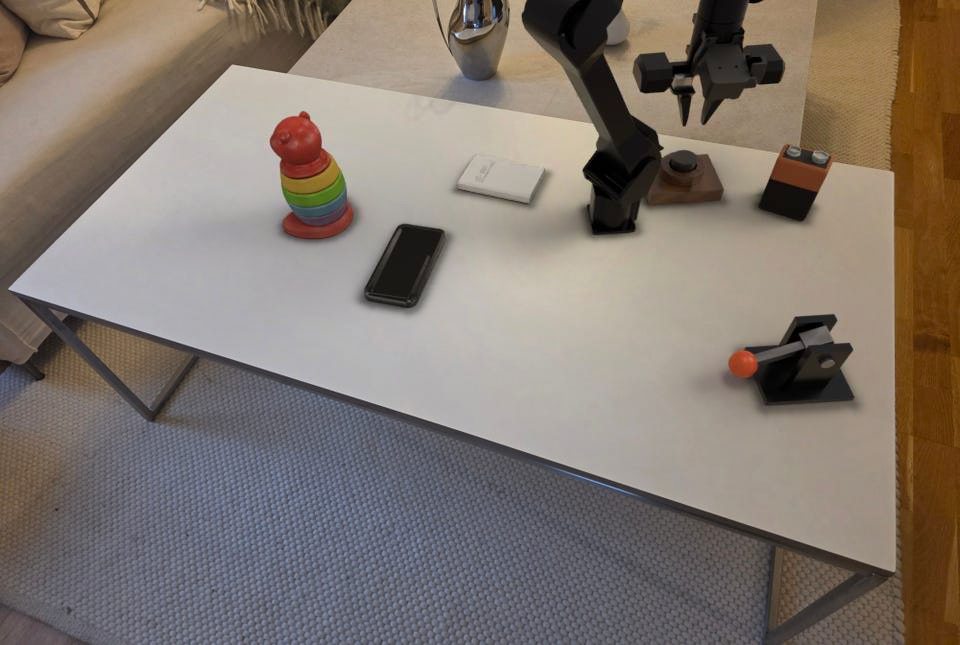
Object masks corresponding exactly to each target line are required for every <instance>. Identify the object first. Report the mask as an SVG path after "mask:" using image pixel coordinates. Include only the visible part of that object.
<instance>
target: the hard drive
mask: <svg viewBox="0 0 960 645" xmlns="http://www.w3.org/2000/svg"><path fill="white" fill-rule="evenodd" d="M545 175H546V166H540V165H536V164H531V163H530V164H529V163H524V162H519V161H513V160H508V159H502V158H497V157H492V156H487V155H481V154H474V156H473V158H472V159H471V161H470V162H469V164H468V166H467V167H466V169H465V170H464V172H463V173H462V174H461V176H460V178H459V179H458V181H457V189H458V190H462V191H463V190H464V191H468V192H471V193H477V194H481V195H486V196H490V197H495V198H500V199H505V200H510V201H515V202H520V203H524V204H529V205H530V204H531V202H532V201H533V199H534V197H535V195H536V193H537V191H538V189H539V187H540V185H541V183H542V182H543V179H544V177H545Z"/></svg>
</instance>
